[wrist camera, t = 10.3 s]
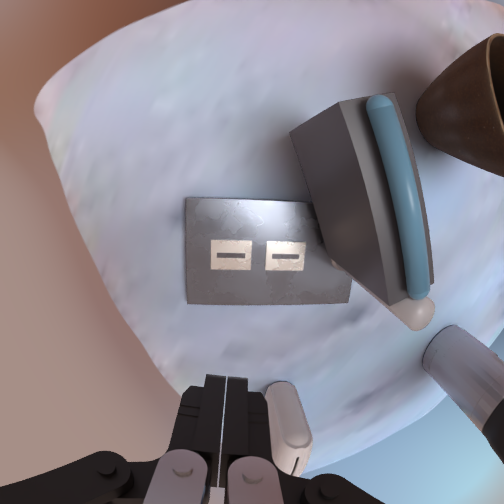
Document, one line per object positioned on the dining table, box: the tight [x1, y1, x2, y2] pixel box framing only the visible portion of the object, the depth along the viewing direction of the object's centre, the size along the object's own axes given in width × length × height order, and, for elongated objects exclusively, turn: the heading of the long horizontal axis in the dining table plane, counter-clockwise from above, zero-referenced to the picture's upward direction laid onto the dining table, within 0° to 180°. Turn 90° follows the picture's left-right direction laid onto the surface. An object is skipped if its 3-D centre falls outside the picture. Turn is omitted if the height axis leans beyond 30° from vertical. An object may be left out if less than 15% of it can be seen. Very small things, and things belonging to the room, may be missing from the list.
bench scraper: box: [289, 92, 435, 331], centre depth 21 cm, size 15×4×14 cm, turn 20°
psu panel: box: [186, 198, 352, 305], centre depth 30 cm, size 18×11×2 cm, turn 87°
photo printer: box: [265, 382, 313, 477], centre depth 30 cm, size 10×4×12 cm, turn 173°
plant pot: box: [416, 33, 504, 177], centre depth 20 cm, size 15×15×16 cm
